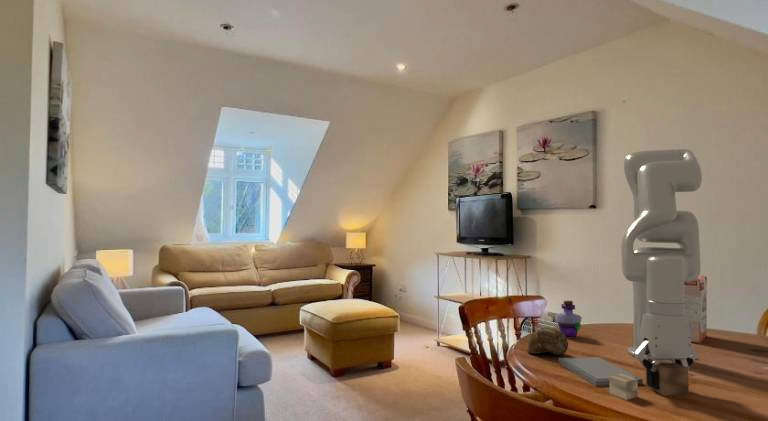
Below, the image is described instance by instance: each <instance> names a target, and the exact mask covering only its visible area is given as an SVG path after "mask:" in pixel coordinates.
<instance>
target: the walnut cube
mask: <svg viewBox="0 0 768 421" xmlns="http://www.w3.org/2000/svg"><path fill="white" fill-rule="evenodd" d="M652 362H653V360H652ZM651 364H652V363H651ZM644 370H645V373H644V374H645V387H646V388H649V389H651V390H653V391H655V392H657V393H658V394H660V395H662V396H667V397H668V396H685V395H686V396H688V395H689V370H688V368H687V367H685V366H682V365H680V364H678V363H675V362H674V361H670V360H660V362H659V365H658V368H657V370H656V371H657V372H659V389H658V390H656V389H654V388H652V387H650V386H648V385H647V369H646V368H644Z"/></svg>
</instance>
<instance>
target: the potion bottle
mask: <svg viewBox="0 0 768 421" xmlns="http://www.w3.org/2000/svg"><path fill="white" fill-rule="evenodd" d="M561 309H562V310H563V312H560V313H556V314H555V320H556V324H557V325H558V330H559V331H560V332H562V333H563V334H564V335H565V337H576V336H577V337H578V333H579V330H580V329H581V326H582V325H581V324H582V323H581V322H582V318H583V317H582V316H581V315H579V314H577V313H575V312H574V310H576V305H575V304H574V301H572V300H563V302H562V304H561ZM577 337H576V338H577Z"/></svg>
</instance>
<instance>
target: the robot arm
mask: <svg viewBox="0 0 768 421" xmlns="http://www.w3.org/2000/svg"><path fill="white" fill-rule="evenodd" d="M623 171H624V175H625V179H626V182H627V184H628V186H629V189H630V191H631V194H632V197H633V198H632V199H633V218H634V219H633V222H632V223H630V225H629V226H628V227H627V228H626V230H625V232H624V234H623V236H622V240H621V247H620V248H621V270H622V272H621V273H622V274H623V276H624V278H625V279H626V280H627V281H630V282H632V291H633V292H632V293H633V295H632V296H633V298H632V299H633V300H632V301H633V303H632V304H633V305H632V306H633V345H631V346H628V349H627V352H628V354H630V355H631V356H633V357H634V358H635V359H637V360H638V362H639V363H640V364H641V365H642V366H643V367H644V369H645V368H646V369H647V385H648V386H650V387H652V388H654V389H656V390H658V389H659V372H657V371H656V370H657V368H658V365H659V362H660V360H670V361H673V362H675V363H678V364H680V365H682V366H685V367H687V368H688V371H690V366H692V364H693V363H694V361H695V360H696V358H698V356H699V354H700V353H699V352H698V351H697V350H696V348H694V346H693V345H692V342H691V334H690V328H689V323H688V319H687V316H685V309H688V305H687V304H685V291H684V281H695V280H697V279H698V277H699V276H701V250H700V248H701V247H700V246H701V245H700V230H699V222H698V219H697V217H696V214H694V213H693V212H692V211H691V212H690V211H687V210H677V201H676V193H688V192H689V193H692V192H696V191H698V190H699V189H700V187H701V185H702V181H703V178H702V177H703V175H702V174H703V173H702V169H701V166H700V162H699V161H698V159H697V158H696V155H695V153H693V151H692V150H691V149H687V148H675V149H673V148H672V149H657V150H655V149H654V150H652V149H651V150H641V151H636V152H632V153H629V154H628V155H626V156H625V158H624V160H623ZM636 240H638V241H639V242H643V243H651V244H652V243H654V244H676V245H678V246H679V247H663V246H662V247H660V246H659V247H655V246H652V247H650V246H646V247H645V246H644V247H639V248H636V249H634V243H635V241H636ZM652 360H653V362H652ZM651 363H652V364H651Z"/></svg>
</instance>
